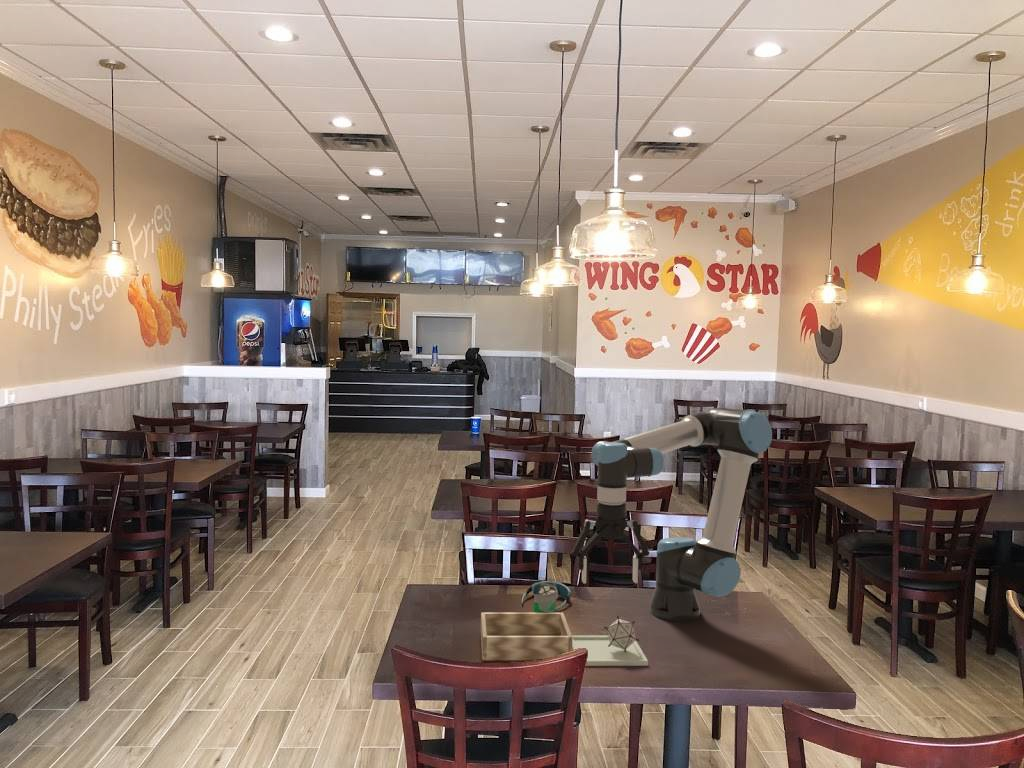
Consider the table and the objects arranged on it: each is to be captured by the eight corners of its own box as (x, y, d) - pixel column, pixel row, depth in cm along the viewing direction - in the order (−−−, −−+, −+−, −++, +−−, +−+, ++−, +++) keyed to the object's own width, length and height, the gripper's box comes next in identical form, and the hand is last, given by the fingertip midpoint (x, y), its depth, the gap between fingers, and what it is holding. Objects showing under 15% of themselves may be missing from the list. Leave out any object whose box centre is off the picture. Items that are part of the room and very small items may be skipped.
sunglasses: (576, 599, 242) (575, 584, 241) (558, 619, 229) (558, 603, 228) (535, 591, 248) (535, 577, 247) (516, 611, 235) (515, 596, 234)
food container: (554, 632, 215) (555, 597, 214) (532, 629, 216) (533, 595, 216) (560, 617, 227) (561, 583, 227) (539, 615, 228) (540, 582, 228)
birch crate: (562, 633, 214) (563, 612, 214) (571, 660, 196) (572, 637, 196) (480, 633, 212) (481, 612, 212) (482, 660, 194) (482, 637, 194)
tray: (632, 639, 211) (633, 635, 211) (647, 665, 194) (648, 660, 194) (568, 639, 209) (568, 635, 209) (577, 665, 192) (577, 661, 192)
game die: (593, 628, 205) (620, 602, 204) (614, 647, 207) (641, 622, 206) (601, 645, 196) (629, 619, 196) (623, 665, 198) (650, 639, 197)
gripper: (654, 499, 204) (652, 577, 205) (562, 498, 202) (560, 577, 204) (662, 505, 197) (659, 585, 198) (566, 504, 195) (564, 586, 196)
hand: (609, 581), depth 201 cm, fingers open, 13 cm apart
